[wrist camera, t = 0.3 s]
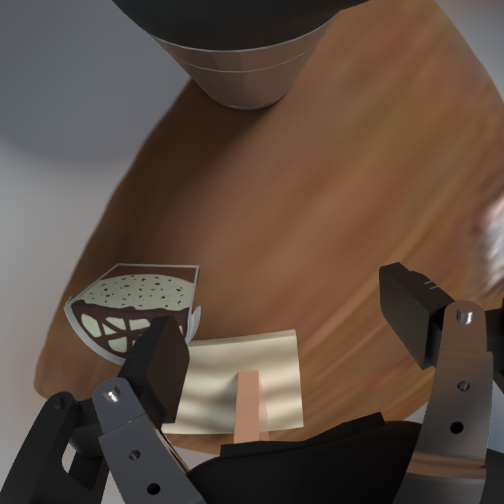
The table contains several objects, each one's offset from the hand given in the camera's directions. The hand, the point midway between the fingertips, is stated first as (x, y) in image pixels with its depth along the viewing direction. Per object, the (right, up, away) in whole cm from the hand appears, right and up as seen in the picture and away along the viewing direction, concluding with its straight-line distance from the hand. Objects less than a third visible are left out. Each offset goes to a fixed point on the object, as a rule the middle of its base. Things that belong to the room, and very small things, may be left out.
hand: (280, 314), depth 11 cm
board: (-6, -16, +25) cm, 31 cm away
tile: (-1, -16, +24) cm, 29 cm away
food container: (-11, -2, +20) cm, 23 cm away
